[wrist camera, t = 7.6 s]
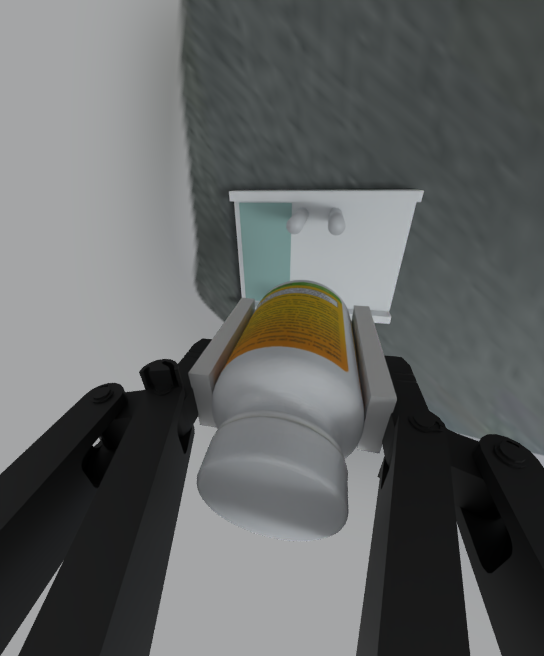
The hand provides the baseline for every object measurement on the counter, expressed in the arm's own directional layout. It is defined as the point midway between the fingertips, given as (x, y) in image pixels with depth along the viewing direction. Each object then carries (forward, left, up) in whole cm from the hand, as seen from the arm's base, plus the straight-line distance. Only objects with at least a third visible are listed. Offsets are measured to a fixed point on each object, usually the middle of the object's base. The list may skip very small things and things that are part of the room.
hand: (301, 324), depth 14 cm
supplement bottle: (0, 0, -1) cm, 1 cm away
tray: (0, 0, -14) cm, 14 cm away
